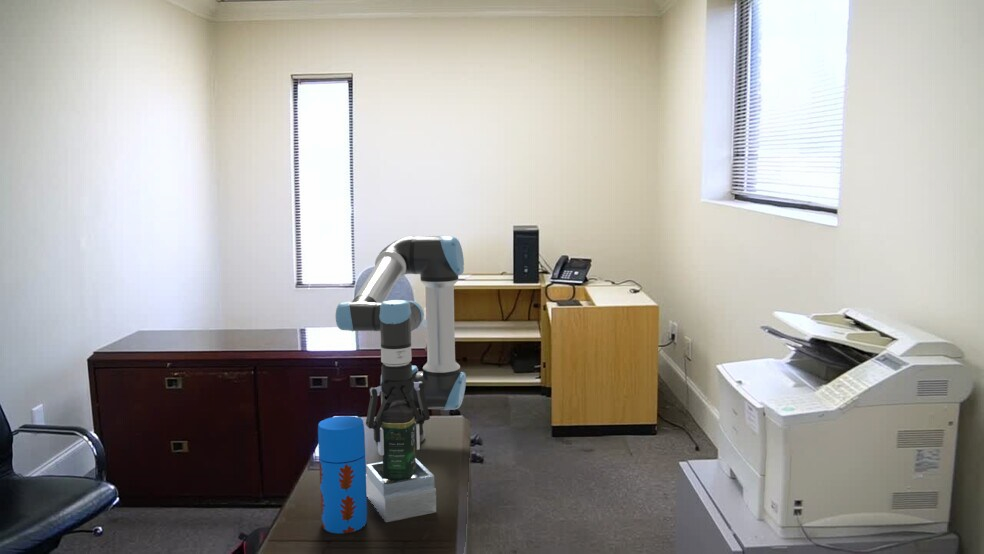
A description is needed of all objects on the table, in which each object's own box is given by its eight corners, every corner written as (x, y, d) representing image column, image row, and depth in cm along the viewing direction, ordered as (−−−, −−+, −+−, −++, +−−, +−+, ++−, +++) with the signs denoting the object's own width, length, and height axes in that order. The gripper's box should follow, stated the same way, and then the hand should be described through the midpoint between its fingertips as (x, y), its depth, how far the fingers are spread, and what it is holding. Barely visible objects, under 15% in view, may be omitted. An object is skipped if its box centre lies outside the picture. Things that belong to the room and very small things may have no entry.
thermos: (326, 537, 176) (322, 432, 173) (317, 518, 186) (313, 419, 183) (372, 528, 181) (369, 426, 178) (361, 510, 190) (358, 413, 187)
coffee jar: (411, 482, 188) (409, 409, 186) (380, 482, 189) (377, 409, 186) (419, 468, 198) (417, 398, 195) (389, 467, 198) (386, 398, 196)
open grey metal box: (413, 487, 204) (412, 455, 203) (436, 512, 189) (435, 477, 188) (366, 496, 199) (365, 463, 198) (385, 522, 184) (384, 486, 183)
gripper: (358, 371, 182) (361, 462, 184) (442, 361, 191) (444, 448, 193) (350, 364, 188) (353, 452, 191) (431, 355, 197) (433, 439, 200)
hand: (399, 450), depth 192 cm, fingers closed on coffee jar, 9 cm apart
